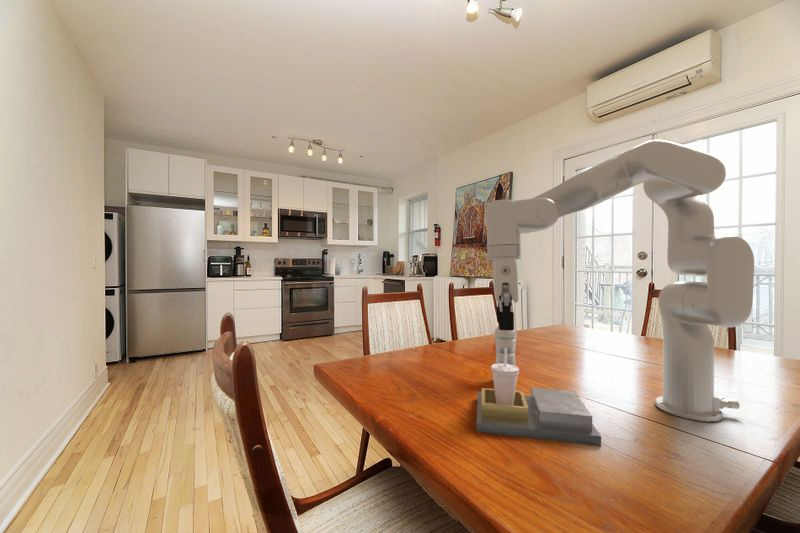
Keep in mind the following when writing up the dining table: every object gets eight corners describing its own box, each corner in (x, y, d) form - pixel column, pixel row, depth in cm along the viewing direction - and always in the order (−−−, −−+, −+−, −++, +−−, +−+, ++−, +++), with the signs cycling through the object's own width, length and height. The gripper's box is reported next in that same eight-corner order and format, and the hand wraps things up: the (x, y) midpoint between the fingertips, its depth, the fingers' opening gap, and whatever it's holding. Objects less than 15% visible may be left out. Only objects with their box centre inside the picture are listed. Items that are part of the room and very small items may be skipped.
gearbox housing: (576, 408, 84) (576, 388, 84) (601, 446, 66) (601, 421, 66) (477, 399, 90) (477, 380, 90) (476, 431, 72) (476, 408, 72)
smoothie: (521, 406, 80) (522, 347, 80) (515, 416, 75) (515, 354, 75) (495, 400, 84) (495, 344, 84) (487, 409, 79) (487, 349, 78)
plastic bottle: (518, 386, 98) (518, 318, 98) (494, 385, 100) (494, 318, 100) (515, 379, 105) (515, 315, 105) (493, 378, 106) (493, 314, 106)
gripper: (525, 252, 70) (526, 334, 70) (516, 253, 87) (518, 320, 87) (487, 253, 72) (489, 333, 72) (486, 254, 88) (488, 319, 89)
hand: (505, 325), depth 79 cm, fingers open, 9 cm apart
